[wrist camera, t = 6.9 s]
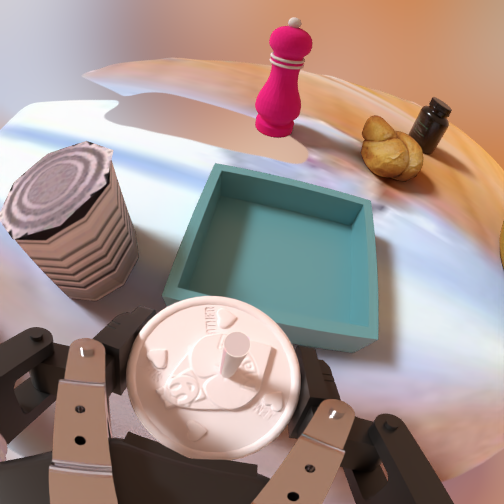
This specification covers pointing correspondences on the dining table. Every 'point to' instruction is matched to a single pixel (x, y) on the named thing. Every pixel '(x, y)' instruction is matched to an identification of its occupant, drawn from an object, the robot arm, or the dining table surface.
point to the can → (74, 221)
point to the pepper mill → (283, 81)
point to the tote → (283, 256)
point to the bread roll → (390, 151)
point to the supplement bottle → (431, 125)
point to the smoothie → (213, 378)
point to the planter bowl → (502, 244)
